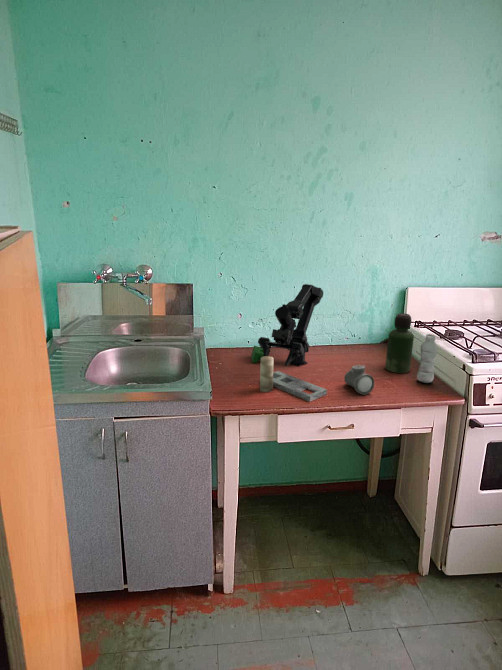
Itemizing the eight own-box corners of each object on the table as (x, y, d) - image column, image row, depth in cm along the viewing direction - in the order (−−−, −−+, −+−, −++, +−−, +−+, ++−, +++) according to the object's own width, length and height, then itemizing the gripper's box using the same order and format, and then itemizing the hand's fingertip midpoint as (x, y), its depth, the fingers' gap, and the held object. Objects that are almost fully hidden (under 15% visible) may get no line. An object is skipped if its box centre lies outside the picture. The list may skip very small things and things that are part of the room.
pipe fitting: (375, 393, 184) (374, 367, 181) (357, 397, 181) (356, 371, 179) (359, 384, 195) (358, 360, 193) (341, 388, 192) (340, 364, 190)
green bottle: (395, 375, 203) (401, 318, 196) (380, 366, 213) (386, 312, 205) (414, 372, 207) (421, 316, 200) (399, 364, 216) (405, 311, 209)
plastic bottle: (425, 385, 192) (431, 338, 187) (412, 380, 198) (418, 334, 192) (436, 383, 195) (443, 336, 190) (424, 377, 201) (430, 332, 195)
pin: (270, 386, 189) (271, 355, 185) (274, 391, 184) (275, 360, 180) (258, 387, 187) (259, 356, 184) (261, 392, 183) (262, 360, 179)
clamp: (261, 371, 216) (267, 358, 211) (250, 368, 216) (255, 355, 210) (262, 354, 225) (267, 341, 220) (251, 352, 224) (256, 339, 219)
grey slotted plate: (277, 375, 200) (278, 370, 200) (326, 394, 182) (327, 389, 182) (260, 381, 194) (261, 376, 193) (309, 401, 176) (310, 396, 175)
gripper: (260, 318, 194) (247, 351, 187) (303, 324, 186) (291, 359, 180) (267, 331, 203) (255, 363, 197) (309, 338, 195) (298, 371, 189)
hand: (274, 364), depth 190 cm, fingers open, 9 cm apart
